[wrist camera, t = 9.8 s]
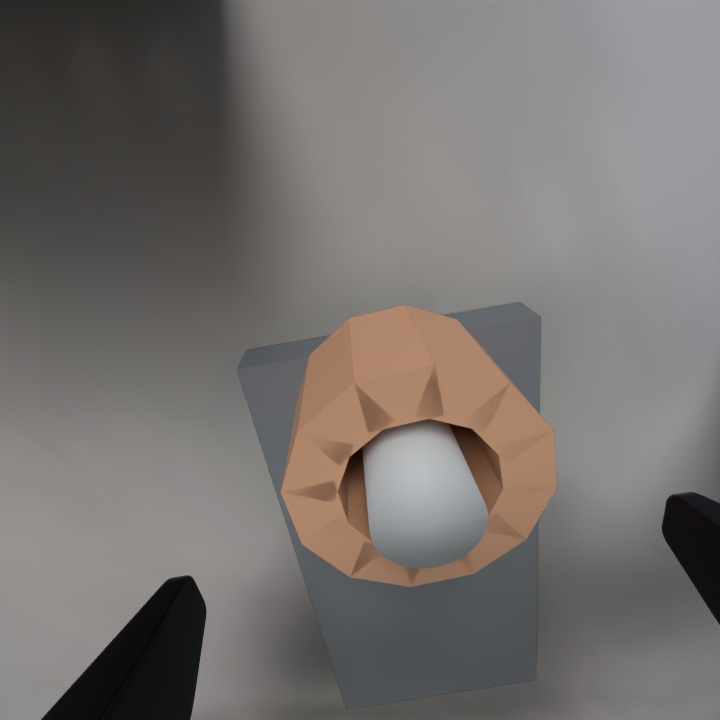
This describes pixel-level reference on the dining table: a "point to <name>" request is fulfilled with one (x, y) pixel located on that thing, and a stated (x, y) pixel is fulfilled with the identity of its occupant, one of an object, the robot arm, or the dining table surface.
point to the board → (424, 614)
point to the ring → (402, 406)
